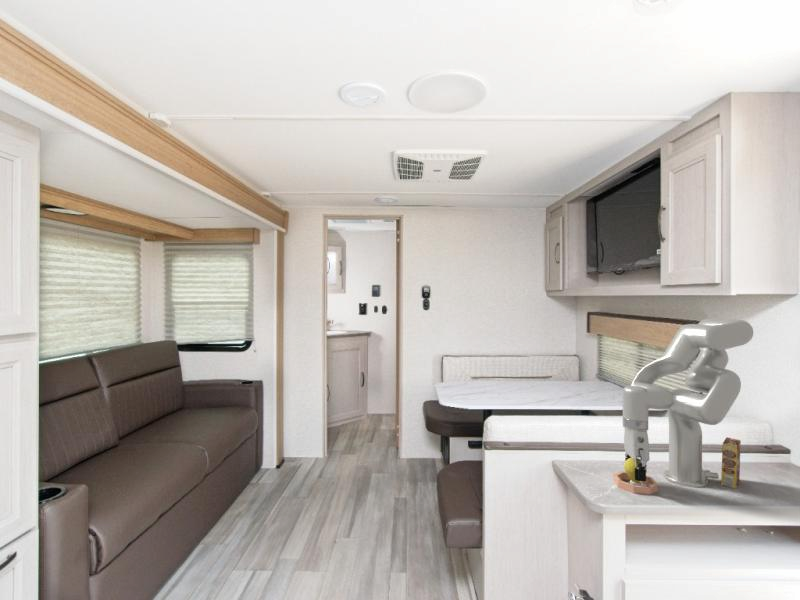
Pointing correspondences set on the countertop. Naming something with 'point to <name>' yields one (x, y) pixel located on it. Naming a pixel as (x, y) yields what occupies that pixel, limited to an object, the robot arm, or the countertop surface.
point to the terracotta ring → (634, 488)
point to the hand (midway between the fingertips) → (635, 474)
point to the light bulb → (632, 471)
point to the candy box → (730, 462)
